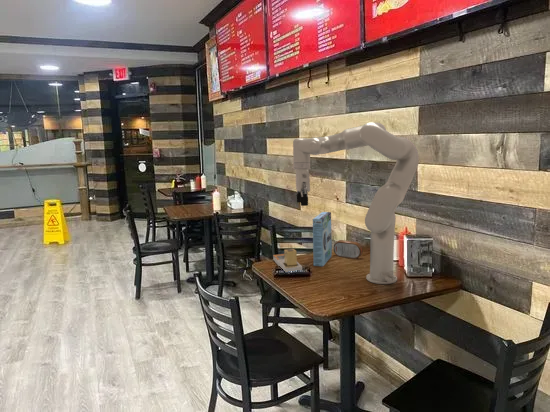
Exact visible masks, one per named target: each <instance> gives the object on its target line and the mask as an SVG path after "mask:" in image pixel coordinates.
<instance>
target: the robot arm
mask: <svg viewBox="0 0 550 412" xmlns="http://www.w3.org/2000/svg"><path fill="white" fill-rule="evenodd" d="M367 146H368V147H369V148H371V149H373V150H375V151H376V152H378V153H379V154H380V155H382V156H384V157H385V158H387V159H390V160H391V161H392V160H393V161H396V163H395V165H394V167H393V168H392V170H391V172H390V175H389V177H388V178H387V181H386V182H385V184H383V185H381V186H380V187H379V188H378V189H377V191H376V193H374V196H373V198H372V201H371V203H370V206H369V208H368V210H367V211H366V214H365V216H364V225H365V227H366V228H367V230H368V231H369V232H370V242H369V243H370V245H369V246H370V247H369V248H370V249H369V250H370V251H369V253H370V254H369V256H370V257H369V263H370V265H369V273H368V274H366V276H365V277H366V278H365V279H366V280H367V281H368V282H369V283H372V284H378V285H391V284H394V283H396V282H397V281H398V277H397V276H396V275H395V274H394V259H395V258H394V257H395V255H394V251H395V249H394V247H395V231H396V222H397V219H396V218H397V217H396V213H395V212H396V209H397V208H398V206H399V205H400V204H401V203H402V202H403V201H404V200H405V197H406V194H407V192H408V190H409V188H410V185H411V183H412V181H413V179H414V177H415V173H416V172H417V169H418V166H419V161H420V159H419V157H420V156H419V152H418V149H417V147H416V145H415V144H414V142H412V141H411V140H410V139H409V138H407V137H404V136H403V137H402V136H396V135H394V134H393V133H391V132H390V131H388V130H387V129H386V126H385V125H384V124H383V123H381V122H378V121H376V122H375V121H371V122H366V123H365V124H363V125H358V126H355V127H350V128H346V129H344V130H342V132H339V133H336V134H331V135H326V136H319V137H318V136H317V137H315V136H313V137H309V138H308V137H297V138H294V139H293V140H292V149H293V150H292V153H293V154H292V156H293V157H292V159H293V161H292V163H293V166H292V167H293V170H294V171H295V189H296V202H297V203H300V207H303V206H304V207H306V206H309V194H308V193H309V192H310V191H311V184H310V181H311V180H310V170H311V156H319V155H326V154H330V153H335V152H339V151H345V150H346V151H347V150H349V151H350V150H353V149H358V148H361V147H363V148H364V147H367Z"/></svg>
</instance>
